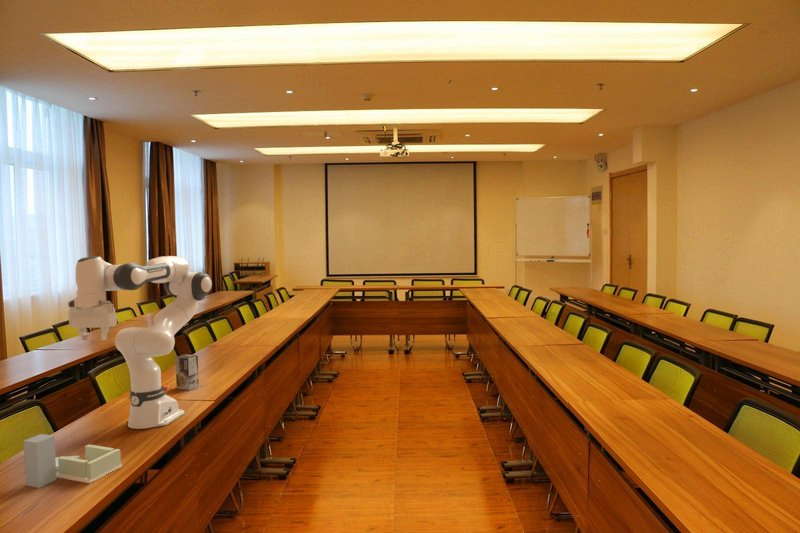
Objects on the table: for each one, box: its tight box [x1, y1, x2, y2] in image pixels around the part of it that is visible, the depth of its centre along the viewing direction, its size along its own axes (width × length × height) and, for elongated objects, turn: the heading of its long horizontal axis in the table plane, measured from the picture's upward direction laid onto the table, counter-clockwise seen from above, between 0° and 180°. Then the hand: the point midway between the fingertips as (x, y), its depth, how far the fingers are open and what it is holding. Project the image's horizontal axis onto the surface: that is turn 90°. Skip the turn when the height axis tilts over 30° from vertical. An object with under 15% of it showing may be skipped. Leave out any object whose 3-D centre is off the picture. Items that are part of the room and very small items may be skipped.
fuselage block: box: [23, 433, 57, 489], centre depth 156 cm, size 6×6×14 cm
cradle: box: [56, 444, 123, 484], centre depth 163 cm, size 12×14×6 cm
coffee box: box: [174, 354, 200, 391], centre depth 254 cm, size 9×6×16 cm
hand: (94, 339), depth 182 cm, fingers open, 8 cm apart
